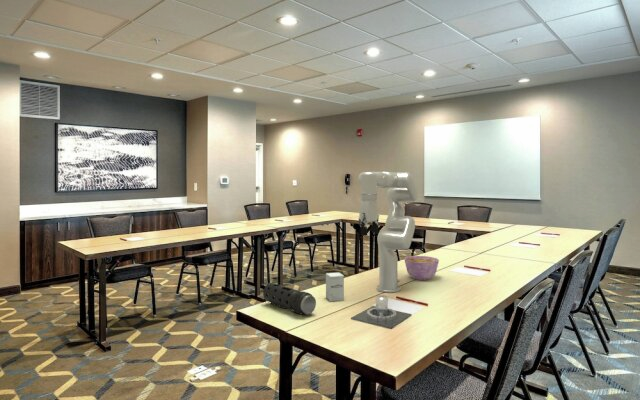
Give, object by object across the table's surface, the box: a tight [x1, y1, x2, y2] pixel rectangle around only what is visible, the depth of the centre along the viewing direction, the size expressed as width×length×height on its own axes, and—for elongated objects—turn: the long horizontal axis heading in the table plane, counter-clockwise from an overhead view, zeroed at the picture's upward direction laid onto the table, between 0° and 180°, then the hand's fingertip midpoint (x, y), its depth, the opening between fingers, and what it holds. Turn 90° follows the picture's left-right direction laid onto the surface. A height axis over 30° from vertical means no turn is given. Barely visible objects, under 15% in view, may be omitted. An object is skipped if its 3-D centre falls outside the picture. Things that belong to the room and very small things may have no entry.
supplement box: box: [325, 272, 345, 303], centre depth 193 cm, size 7×7×13 cm
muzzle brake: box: [262, 282, 317, 316], centre depth 178 cm, size 10×28×10 cm, turn 44°
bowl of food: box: [404, 255, 440, 281], centre depth 230 cm, size 20×20×12 cm
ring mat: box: [350, 305, 412, 330], centre depth 167 cm, size 19×19×2 cm
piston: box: [375, 295, 389, 317], centre depth 167 cm, size 5×5×8 cm
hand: (369, 234), depth 185 cm, fingers open, 9 cm apart
